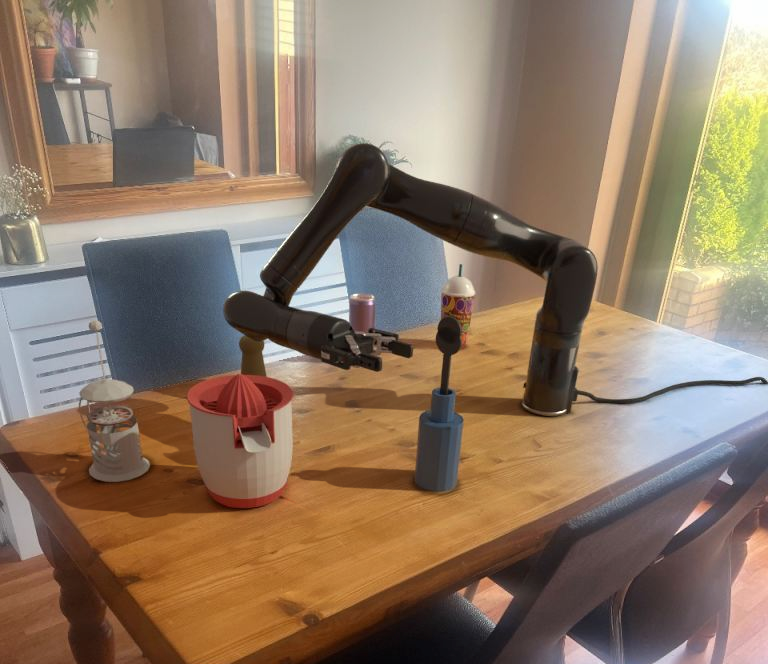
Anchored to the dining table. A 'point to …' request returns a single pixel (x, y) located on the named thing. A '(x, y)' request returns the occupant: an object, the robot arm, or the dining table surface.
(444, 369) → the spoon
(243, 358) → the cork
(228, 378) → the citrus juicer
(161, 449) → the dining table surface
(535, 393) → the robot arm
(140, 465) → the french press
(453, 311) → the smoothie
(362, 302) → the beverage can
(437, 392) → the bottle
